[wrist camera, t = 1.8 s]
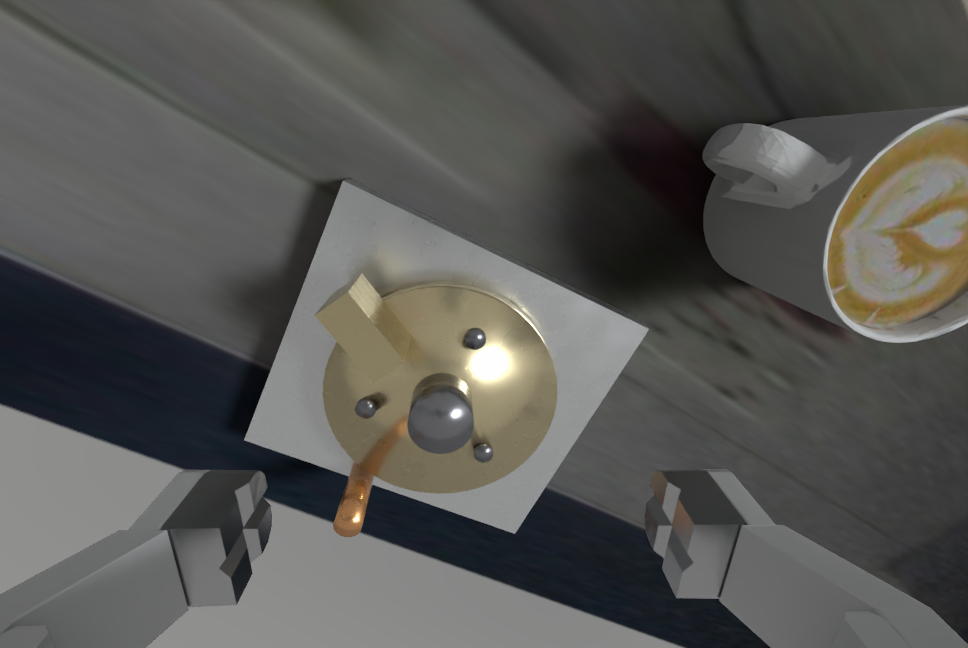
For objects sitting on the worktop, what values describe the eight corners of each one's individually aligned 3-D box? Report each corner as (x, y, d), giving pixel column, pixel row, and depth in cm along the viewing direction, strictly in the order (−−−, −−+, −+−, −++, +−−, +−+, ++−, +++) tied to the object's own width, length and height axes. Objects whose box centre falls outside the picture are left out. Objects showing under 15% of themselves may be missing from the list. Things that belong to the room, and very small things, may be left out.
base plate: (256, 423, 32) (205, 494, 25) (350, 178, 26) (317, 188, 20) (511, 513, 36) (524, 594, 29) (637, 317, 31) (686, 363, 24)
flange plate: (591, 410, 30) (616, 457, 26) (418, 510, 32) (412, 571, 28) (454, 205, 25) (454, 218, 20) (259, 340, 27) (219, 380, 23)
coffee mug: (892, 191, 29) (1103, 212, 19) (769, 312, 31) (904, 382, 22) (757, 35, 25) (935, -30, 16) (630, 185, 28) (720, 204, 18)
